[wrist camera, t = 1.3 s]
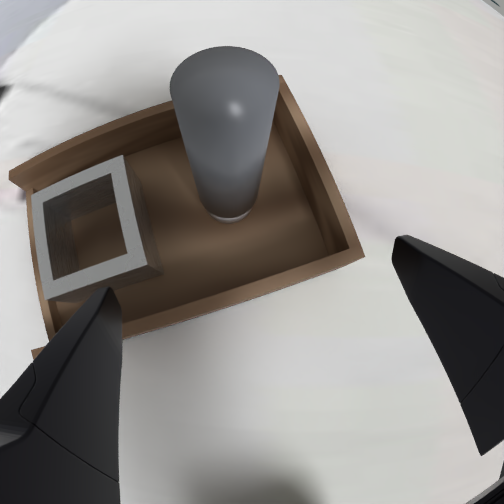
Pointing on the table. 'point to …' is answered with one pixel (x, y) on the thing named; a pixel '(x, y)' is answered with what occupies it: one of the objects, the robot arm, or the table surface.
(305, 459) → the table surface
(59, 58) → the table surface
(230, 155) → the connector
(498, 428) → the robot arm
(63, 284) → the frame
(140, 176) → the box
